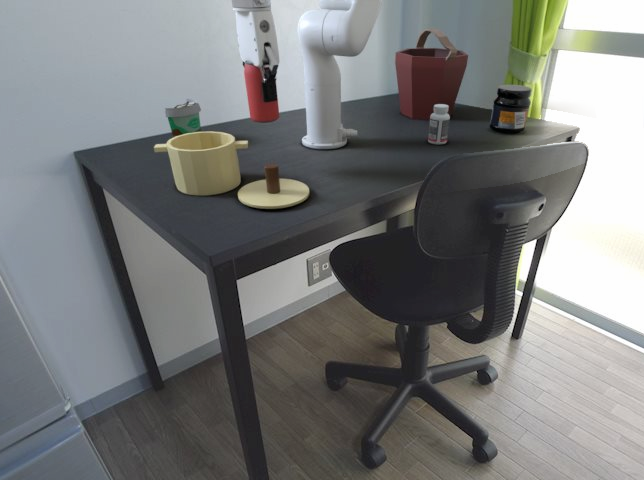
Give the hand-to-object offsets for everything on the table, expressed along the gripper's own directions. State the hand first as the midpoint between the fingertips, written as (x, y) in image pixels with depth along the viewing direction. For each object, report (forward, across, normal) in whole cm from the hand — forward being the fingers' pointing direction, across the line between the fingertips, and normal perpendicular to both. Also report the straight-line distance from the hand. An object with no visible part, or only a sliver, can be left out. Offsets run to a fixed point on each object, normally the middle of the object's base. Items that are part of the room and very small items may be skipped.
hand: (262, 97), depth 99 cm
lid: (+15, -16, +7) cm, 23 cm away
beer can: (+5, 0, 0) cm, 5 cm away
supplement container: (+18, -11, -75) cm, 78 cm away
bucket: (+18, +18, -68) cm, 73 cm away
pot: (+16, 0, +16) cm, 22 cm away
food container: (+17, +32, +8) cm, 37 cm away
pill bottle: (+17, -8, -49) cm, 52 cm away
